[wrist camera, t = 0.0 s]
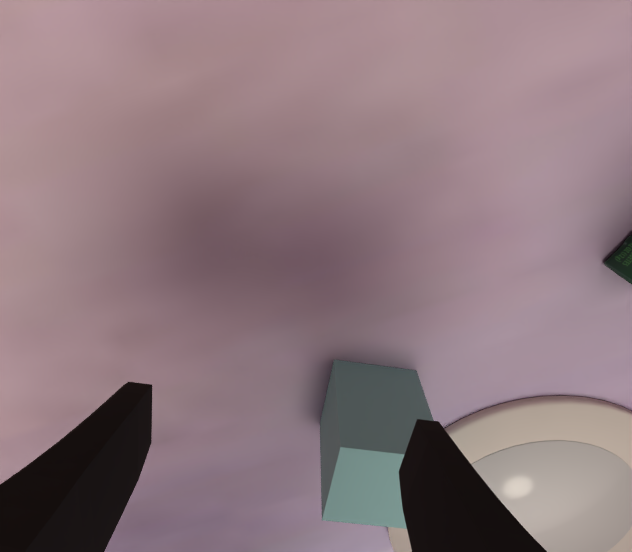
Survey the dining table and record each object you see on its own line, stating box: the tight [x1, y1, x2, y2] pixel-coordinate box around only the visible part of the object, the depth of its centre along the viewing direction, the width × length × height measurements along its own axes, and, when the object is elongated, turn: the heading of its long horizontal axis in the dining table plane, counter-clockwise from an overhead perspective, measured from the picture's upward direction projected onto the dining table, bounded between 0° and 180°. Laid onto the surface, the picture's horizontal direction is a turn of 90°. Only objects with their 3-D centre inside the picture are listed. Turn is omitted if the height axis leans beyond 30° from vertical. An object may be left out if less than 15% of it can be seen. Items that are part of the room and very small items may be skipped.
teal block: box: [320, 360, 434, 529], centre depth 22 cm, size 4×4×6 cm
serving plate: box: [388, 396, 632, 552], centre depth 28 cm, size 18×18×1 cm
